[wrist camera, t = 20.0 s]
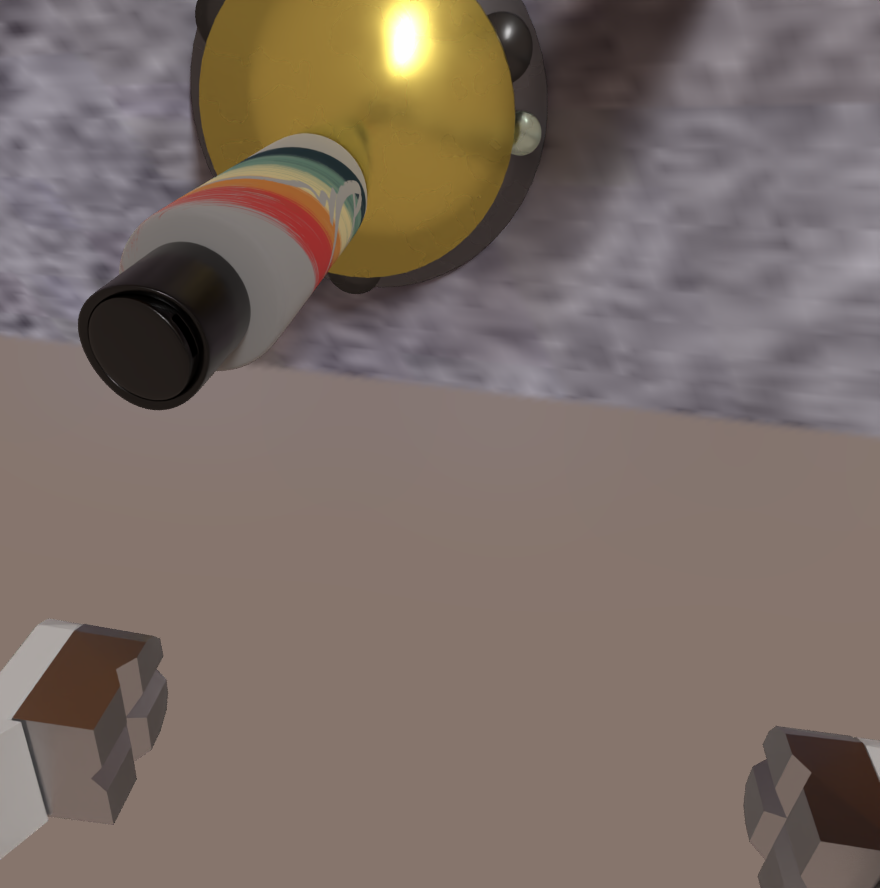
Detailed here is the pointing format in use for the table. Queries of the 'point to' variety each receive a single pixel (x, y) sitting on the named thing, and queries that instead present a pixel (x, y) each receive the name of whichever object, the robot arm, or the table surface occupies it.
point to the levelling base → (384, 114)
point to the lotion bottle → (222, 270)
